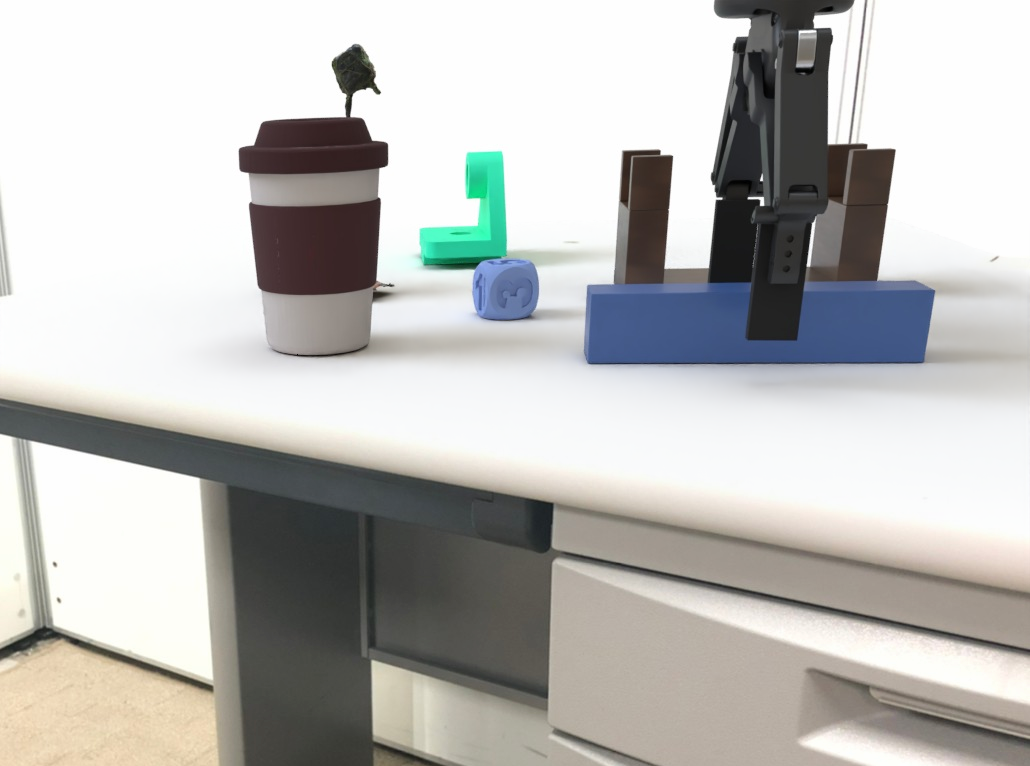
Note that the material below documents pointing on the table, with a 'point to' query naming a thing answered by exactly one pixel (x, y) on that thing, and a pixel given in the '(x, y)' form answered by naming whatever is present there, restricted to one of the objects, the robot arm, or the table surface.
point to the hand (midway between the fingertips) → (747, 318)
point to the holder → (835, 257)
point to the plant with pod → (355, 83)
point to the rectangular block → (723, 319)
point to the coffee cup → (315, 230)
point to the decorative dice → (505, 289)
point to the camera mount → (491, 231)
